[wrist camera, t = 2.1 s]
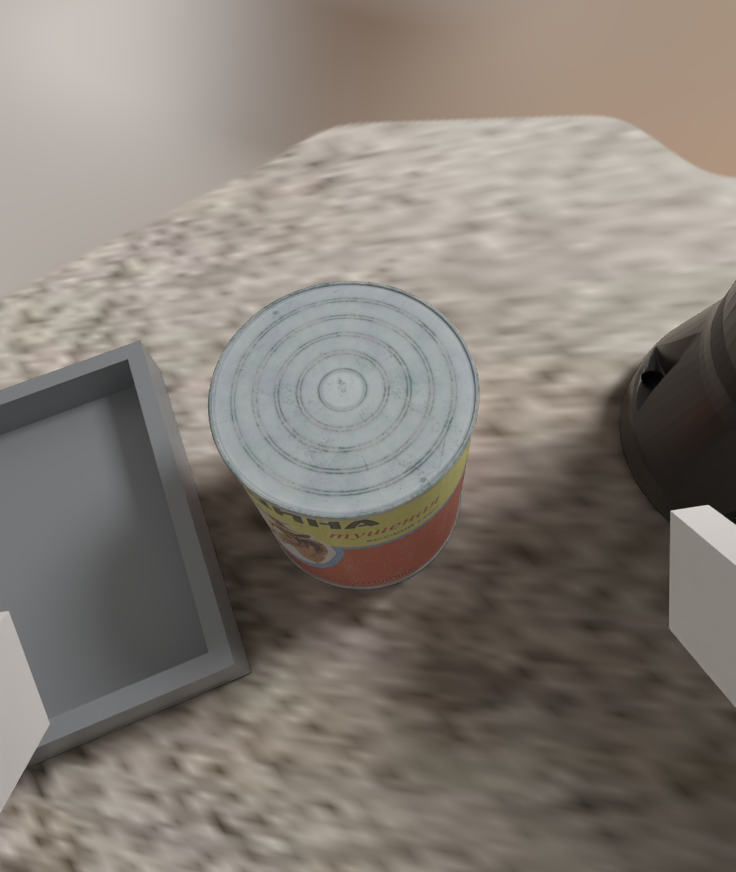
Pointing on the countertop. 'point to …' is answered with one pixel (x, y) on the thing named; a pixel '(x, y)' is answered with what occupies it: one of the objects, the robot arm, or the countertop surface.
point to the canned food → (349, 428)
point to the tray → (108, 550)
